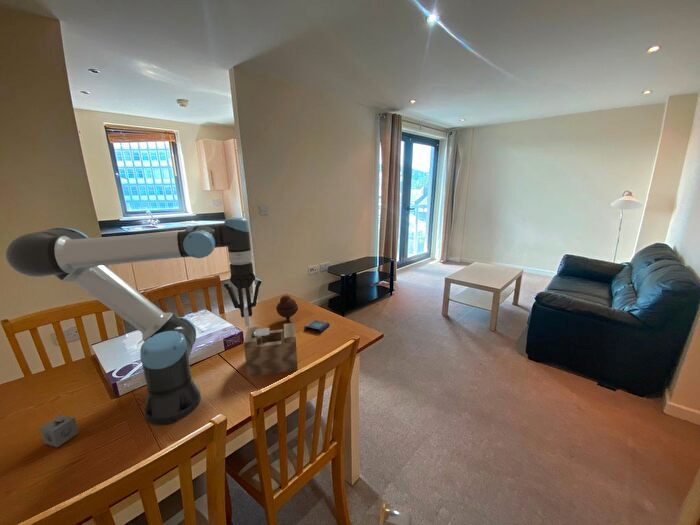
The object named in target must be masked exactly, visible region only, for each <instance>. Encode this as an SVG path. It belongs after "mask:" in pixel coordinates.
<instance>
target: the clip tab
mask: <svg viewBox="0 0 700 525" xmlns="http://www.w3.org/2000/svg"><path fill="white" fill-rule="evenodd" d="M270 329H271V328H270V327H264V328H259V329H254V330H253V335H252V337H258V336H266V335H269V331H271V330H270Z"/></svg>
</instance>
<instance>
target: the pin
mask: <svg viewBox="0 0 700 525" xmlns="http://www.w3.org/2000/svg"><path fill="white" fill-rule="evenodd" d="M386 503H387V502H386V501H382V505H381V510H380V518H379V525H384V521H386V522H388V523H390V524H394V525H412V517H413V516H412V514H411V513H408V512H405V511H402V510H399V509H397V508H392V507H389V506H386Z"/></svg>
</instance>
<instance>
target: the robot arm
mask: <svg viewBox="0 0 700 525" xmlns="http://www.w3.org/2000/svg"><path fill="white" fill-rule="evenodd" d="M250 235H251V234H250V228H249V221H248V219H247V218H245V217H227V218H225V219H224V223H223V224H217V225H215V224H214V225H193V226H187V227H186V228H185V229H184V230H183V231H168V232H157V233H155V232H154V233H142V234H141V233H140V234H128V235H113V236H102V237H89V236H88V235H86V234H85V233H84V232H82V231H80V230H78V229H75V228H69V227H55V228H54V227H53V228H49V229H45V230H42V231H36V232H29V233H25V234H22V235H19V236H18V237H16V238H14V239H13V240H12V241H11V242H10V243H9V244H8V246H7V248H6V251H5V258H6V261H7V263H8V265H9V266H10V267H11V268H12V269H13V270H14V271H16V272H17V273H20V274H22V275H25V276H28V277H34V278H37V277H38V278H39V277H40V278H42V277H43V278H45V277H51V276H55V277H57V278H58V279H59V280H60V281H62V282H64V283H69V282H72V283H74V284H76V285H78V287H80V288H81V289H83V290H84V291H85V292H87V293H88V294H90V295H91V296H92V297H93V298H95V299H96V300H97V301H99V302H100V303H101V304H103V305H104V306H105V307H107V308H108V309H110V310H111V311H112V312H114V314H116V315H117V316H118V317H120V318H122V319H123V320H124V321H126V323H128V324H129V325H131V326H132V327H134V328H135V329H136V330H137V331H139V332H140V333H141V334H142V336H141V337H142V341H143V343H142V344H141V345H140V346H141V347H140V350H139V351H140V352H139V353H140V361H141V364H142V370H143V376H144V379H145V383H146V387H147V397H146V402H145V406H144V417H145V420H146V421H147V423H148V424H151V425H155V426H164V425H171V424H173V423H176V422H178V420H181V419H183V418H185V417H187V416H189V415H190V414H191V413H193V412H194V411H195V410H196V409H197V407H198V406H199V405H200V403H201V400H202V396H201V391H200V389H199V388H198V386H197V384H196V383H195V381H194V380H193V378H192V373H191V367H190V366H191V364H190V357H191V353H192V350H193V347H194V344H195V343H196V339H197V330H196V327H195V325H194V323H193V322H192V321H191V320H189V319H188V318H185V317H179V316H177V315H176V314H174V313H173V312H164V311H163V310H161V309H160V308H159V307H158V306H157V305H155V304H154V303H153V302H152V301H150V300H149V299H148V298H146V297H145V296H144V295H143V294H142V293H141V292H139V291H138V290H137V289H136V288H134V287H133V286H132V285H131V284H129V283H128V282H126V281H125V280H124V279H123V278H121V277H120V276H119V275H118V274H117V273H115V272H114V271H113V270H112V269H111V268H109V267H108V266H110V265H111V266H113V265H120V264H130V263H140V262H142V263H143V262H151V261H158V260H161V261H162V260H168V259H180V258H191V257H192V258H195V259H203V258H205V257H206V258H207V257H208V256H209V255H211V254H212V253H213V252H214V250H215V248H225V247H226V248H227V253H228V255H227V256H228V260H229V263H230V264H229V270H230V277H229V279H228V281H225V282H224V284H223V287H224V288H225V289H226V290H227V293H228V295H229V297H230V299H231V302H232V304H233V307H234V308H235V309H239V310H240V317H241V318H244V326H245V327H250V326H251V317H252V316H253V308H254V307H256V305H257V303H258V302H257V301H258V296H259V290H260V286H261V284H262V281H263V279H260V278H257V277H256V275H255V273H254V264H253V262H252V261H253V256H252V254H253V253H252V247H251V236H250ZM253 283H254V285H255V288H254V294H253V301H252V295H251V286H252V285H253ZM233 286H234V287H236V288H237V292H238V293H237V294H238V295H237V296H238V298H237V296H236V294H235V291H234V288H233ZM244 290H245V296H246V306H245V299H244V292H243V291H244Z"/></svg>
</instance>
